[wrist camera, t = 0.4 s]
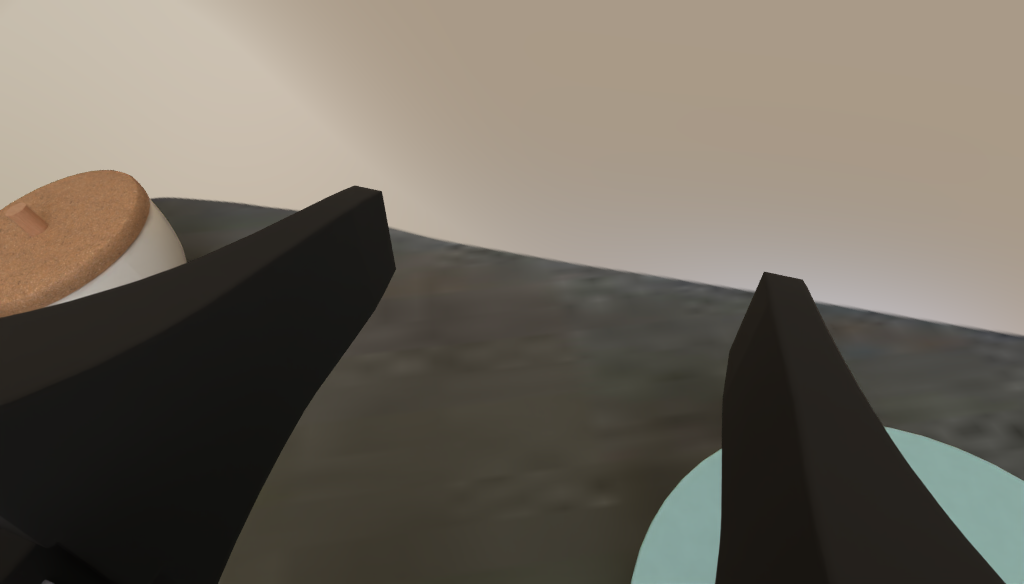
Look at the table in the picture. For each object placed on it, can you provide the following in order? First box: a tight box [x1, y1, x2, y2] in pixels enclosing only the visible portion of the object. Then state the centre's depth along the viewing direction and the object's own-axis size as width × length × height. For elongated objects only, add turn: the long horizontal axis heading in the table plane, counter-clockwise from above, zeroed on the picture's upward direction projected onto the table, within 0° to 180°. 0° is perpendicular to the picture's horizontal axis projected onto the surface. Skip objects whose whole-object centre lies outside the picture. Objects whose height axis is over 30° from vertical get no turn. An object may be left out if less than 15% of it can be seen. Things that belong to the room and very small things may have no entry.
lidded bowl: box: [0, 170, 187, 318], centre depth 38 cm, size 13×13×11 cm
